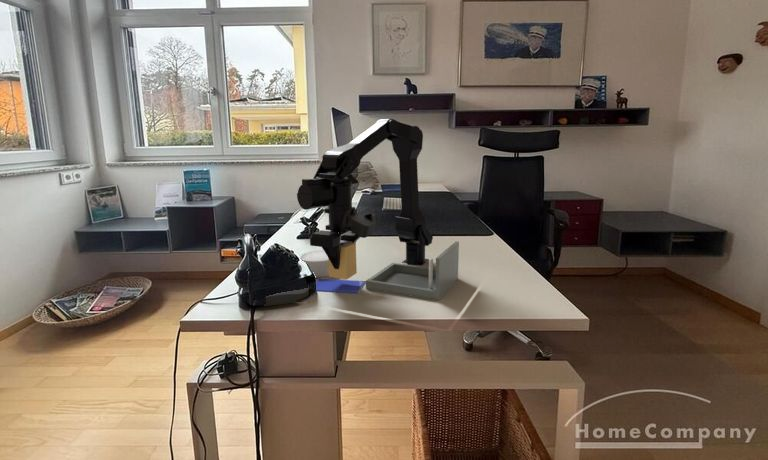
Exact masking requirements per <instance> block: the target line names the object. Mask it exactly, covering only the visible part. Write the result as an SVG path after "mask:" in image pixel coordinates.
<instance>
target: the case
mask: <svg viewBox="0 0 768 460" xmlns="http://www.w3.org/2000/svg"><path fill="white" fill-rule="evenodd" d="M459 249H460V242H459V240H458V241H454V242H453V243H452V244H450V246H448V247H447V248H446V249H445V250H444V251H443V252H441V253H440V254H439V255H438V256H437V257H436V258H435V267H434V258H428V259H429V261H428V267H427V266H423V265H413V264H406V263H397V262H391V263H390V264H389V265H387V266H386V267H384V268H383V269H381V270H380V271H378V272H376V273H375V274H374V275H372V276H371V277H369V278H367V279H366V280H365V281H366V282H365V289H366V290H371V291H377V292H383V293H384V292H385V293H390V294H396V295H397V294H398V295H403V296H409V297H415V298H421V299H428V300H431V301H432V300H433V301H440V299H441V298H442V297H443V296H444V295H445V294H446V293H447V291H449V289H450V288H451V287H452V286H453V285H454V284H455V283H456V282H457V280H458V279H459V259H460V258H459V256H460V255H459V251H460V250H459Z"/></svg>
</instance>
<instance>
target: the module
mask: <svg viewBox="0 0 768 460" xmlns="http://www.w3.org/2000/svg"><path fill="white" fill-rule="evenodd" d="M341 243H345V245H344V246H343V247H342V248H341V250H340V265H339V269H334V267H333V265H332V263H331V261H330V260H329V258H328V263H329V276H328V277H330V278H335V279H339V280H348V279H349V278H352V277H353V276H354V275H356V274H357V273H358V272H357V245H356V243H357V242H356V243H355V242H352V241H343V240H341Z"/></svg>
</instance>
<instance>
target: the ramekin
mask: <svg viewBox="0 0 768 460" xmlns="http://www.w3.org/2000/svg"><path fill="white" fill-rule="evenodd" d="M299 258H300V259H301V260H302V261H304V262H306V263H307V264H308V265H309V267H310V268H311V269H312V271H313V272H314V274H315V276H316V278H315V279H322V277H329V263H328V256H327V254H326V253H325V251H324V250H323V249H321V250H320V249H319V250H311V251H307V252H304V253H302V254H300V256H299ZM303 259H304V260H303Z"/></svg>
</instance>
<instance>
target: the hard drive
mask: <svg viewBox="0 0 768 460" xmlns="http://www.w3.org/2000/svg"><path fill="white" fill-rule="evenodd" d="M315 283H316V290H315V291H314V292H320V293H321V292H325V293H342V294H358V295H359V293H360V291H361V290H362V288H363V287H364V285H366V280H351V279H350V280H348V279H326V278H325V279H323V278H318V280H317V281H315Z"/></svg>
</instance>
